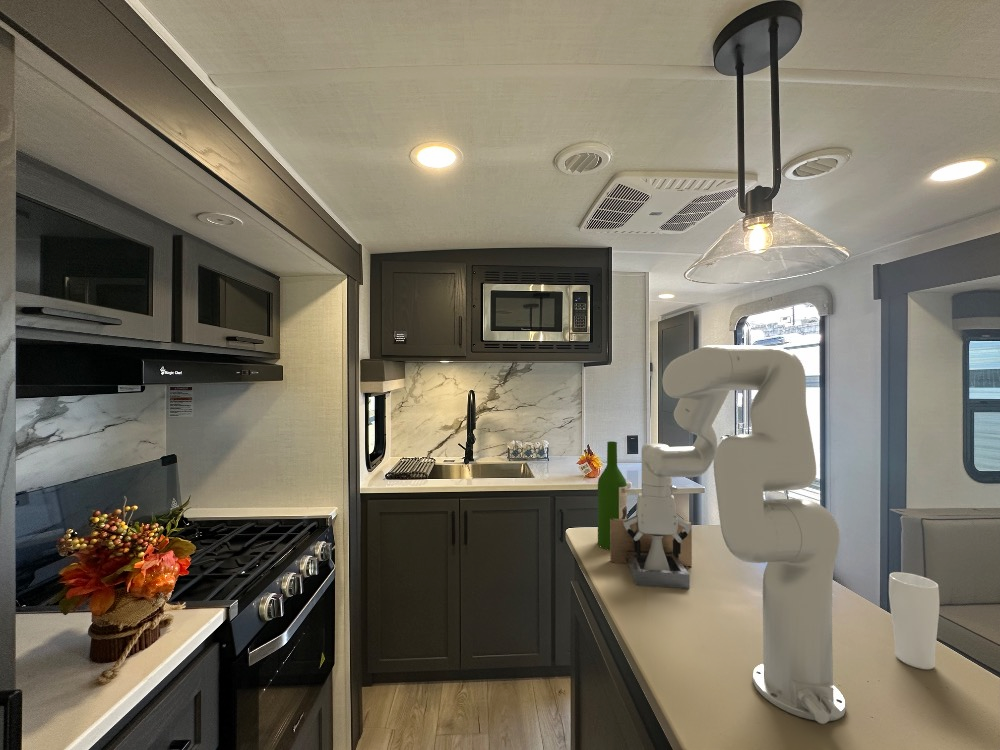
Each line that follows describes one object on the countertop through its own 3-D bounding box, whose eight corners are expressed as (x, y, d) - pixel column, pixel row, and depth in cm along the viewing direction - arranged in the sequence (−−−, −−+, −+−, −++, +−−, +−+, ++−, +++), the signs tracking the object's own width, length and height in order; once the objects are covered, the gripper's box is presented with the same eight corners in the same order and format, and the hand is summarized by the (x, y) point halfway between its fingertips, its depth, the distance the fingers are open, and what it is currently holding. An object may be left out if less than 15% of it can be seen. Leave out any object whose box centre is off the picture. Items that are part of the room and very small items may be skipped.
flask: (676, 578, 113) (675, 539, 113) (647, 578, 113) (647, 538, 113) (665, 566, 120) (665, 529, 120) (639, 566, 120) (639, 529, 120)
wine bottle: (621, 552, 132) (621, 444, 133) (593, 546, 137) (593, 442, 138) (630, 544, 140) (630, 441, 140) (603, 538, 145) (603, 439, 145)
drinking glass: (880, 650, 84) (879, 571, 84) (916, 651, 84) (915, 572, 84) (912, 673, 77) (910, 587, 78) (951, 674, 77) (950, 588, 77)
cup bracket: (708, 589, 109) (708, 541, 109) (617, 584, 111) (617, 536, 112) (690, 564, 124) (690, 522, 124) (610, 560, 127) (610, 518, 127)
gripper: (686, 488, 119) (686, 551, 119) (621, 486, 122) (621, 548, 121) (694, 495, 112) (695, 562, 112) (625, 492, 114) (625, 559, 114)
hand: (656, 555), depth 116 cm, fingers open, 9 cm apart
